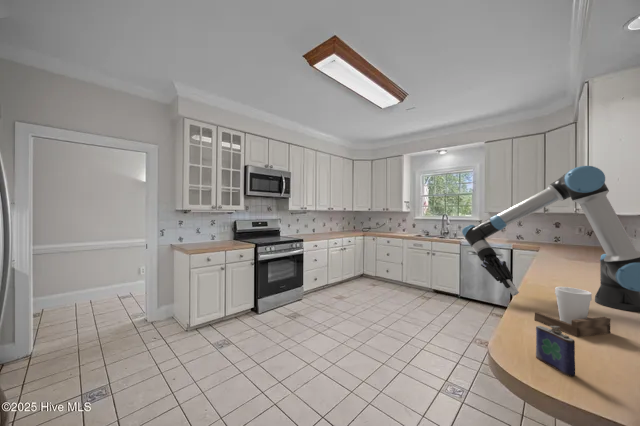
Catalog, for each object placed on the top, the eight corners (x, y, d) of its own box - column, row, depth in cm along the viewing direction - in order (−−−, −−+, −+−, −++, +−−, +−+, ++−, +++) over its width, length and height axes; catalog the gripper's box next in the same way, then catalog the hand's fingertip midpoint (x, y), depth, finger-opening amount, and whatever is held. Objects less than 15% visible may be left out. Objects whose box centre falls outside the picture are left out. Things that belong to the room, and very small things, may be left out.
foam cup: (599, 332, 88) (599, 294, 88) (573, 332, 88) (573, 294, 88) (571, 320, 97) (571, 286, 97) (548, 320, 97) (548, 286, 97)
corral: (565, 317, 100) (565, 304, 100) (610, 333, 87) (610, 318, 87) (534, 320, 97) (534, 307, 97) (576, 337, 84) (576, 321, 84)
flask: (533, 356, 72) (533, 319, 72) (542, 356, 72) (542, 318, 72) (569, 377, 63) (570, 334, 63) (579, 376, 63) (580, 333, 63)
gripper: (490, 255, 133) (521, 297, 116) (469, 255, 130) (498, 299, 114) (499, 246, 128) (533, 289, 111) (477, 246, 125) (509, 290, 109)
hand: (515, 294), depth 112 cm, fingers closed
